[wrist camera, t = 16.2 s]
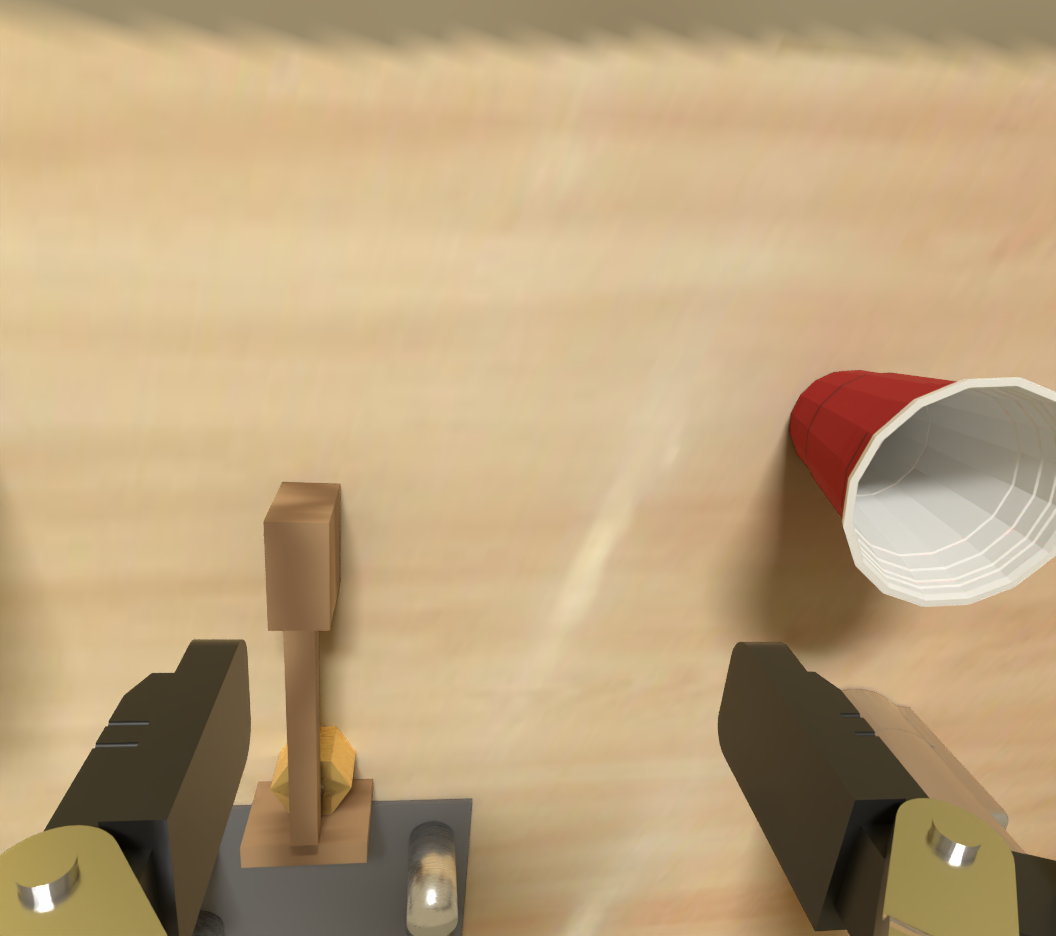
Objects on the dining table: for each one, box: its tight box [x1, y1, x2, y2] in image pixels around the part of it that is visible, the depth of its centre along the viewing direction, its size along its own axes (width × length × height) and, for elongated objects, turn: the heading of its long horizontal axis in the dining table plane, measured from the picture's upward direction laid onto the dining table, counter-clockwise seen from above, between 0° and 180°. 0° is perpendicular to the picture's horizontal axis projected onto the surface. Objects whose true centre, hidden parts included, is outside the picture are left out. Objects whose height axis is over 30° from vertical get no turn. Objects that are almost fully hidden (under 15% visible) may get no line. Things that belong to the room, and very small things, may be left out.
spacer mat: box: [200, 799, 472, 936], centre depth 51 cm, size 20×20×1 cm
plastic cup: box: [790, 370, 1056, 607], centre depth 37 cm, size 11×11×12 cm
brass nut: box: [270, 727, 356, 815], centre depth 45 cm, size 5×4×3 cm
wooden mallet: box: [240, 482, 373, 868], centre depth 41 cm, size 7×22×5 cm, turn 175°
